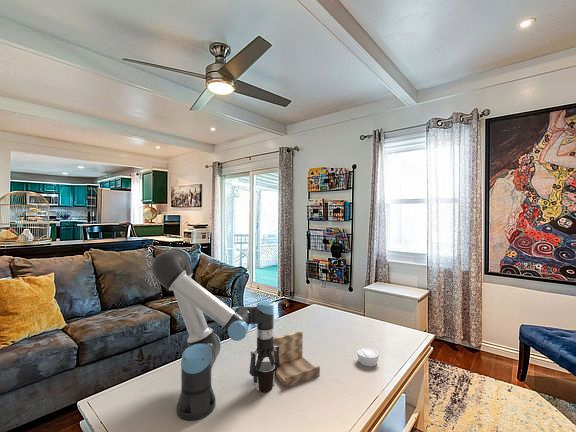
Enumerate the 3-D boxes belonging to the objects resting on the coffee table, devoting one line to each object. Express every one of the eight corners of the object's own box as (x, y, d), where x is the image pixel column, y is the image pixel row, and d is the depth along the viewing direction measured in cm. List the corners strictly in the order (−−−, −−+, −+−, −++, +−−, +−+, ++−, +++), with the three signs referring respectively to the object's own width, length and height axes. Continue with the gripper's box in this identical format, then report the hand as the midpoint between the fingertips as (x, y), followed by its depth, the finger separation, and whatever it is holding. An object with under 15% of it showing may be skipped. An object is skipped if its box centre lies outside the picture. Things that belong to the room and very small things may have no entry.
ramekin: (353, 362, 152) (353, 352, 152) (363, 354, 160) (363, 345, 160) (372, 370, 144) (372, 360, 144) (382, 362, 152) (382, 352, 152)
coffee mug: (272, 395, 124) (272, 372, 124) (253, 392, 125) (253, 370, 125) (278, 379, 135) (278, 359, 135) (260, 377, 137) (260, 357, 137)
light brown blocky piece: (286, 388, 129) (286, 353, 129) (269, 370, 143) (269, 338, 143) (319, 375, 139) (320, 343, 139) (300, 360, 153) (301, 330, 153)
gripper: (248, 345, 121) (247, 398, 122) (288, 334, 131) (287, 383, 132) (241, 338, 127) (241, 388, 128) (280, 328, 138) (279, 375, 138)
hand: (264, 386), depth 130 cm, fingers open, 7 cm apart
